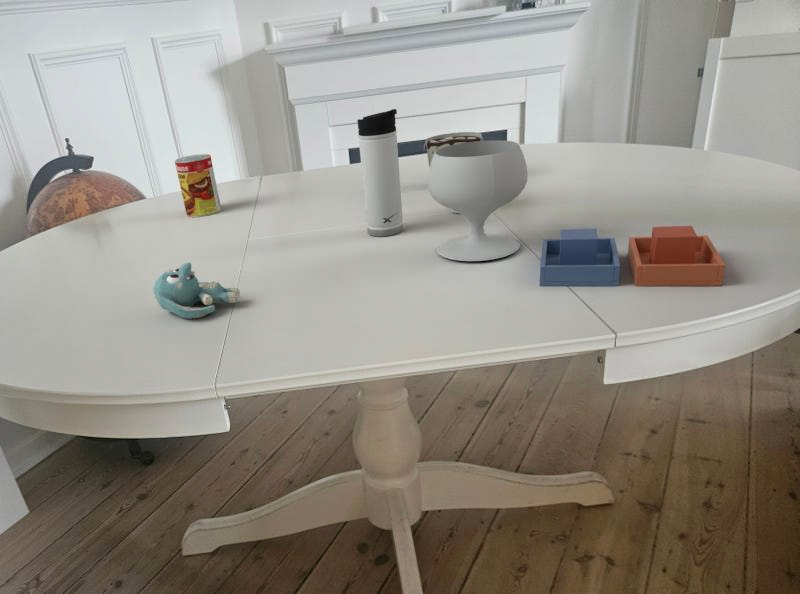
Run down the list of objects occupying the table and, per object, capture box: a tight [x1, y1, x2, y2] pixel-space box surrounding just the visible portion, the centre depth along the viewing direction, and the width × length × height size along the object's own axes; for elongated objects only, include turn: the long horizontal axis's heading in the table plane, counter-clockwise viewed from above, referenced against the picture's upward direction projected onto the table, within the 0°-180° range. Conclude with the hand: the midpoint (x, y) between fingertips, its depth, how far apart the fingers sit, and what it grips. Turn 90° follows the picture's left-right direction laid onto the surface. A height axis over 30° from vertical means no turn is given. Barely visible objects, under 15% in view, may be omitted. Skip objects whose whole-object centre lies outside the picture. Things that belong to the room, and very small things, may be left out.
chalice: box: [427, 139, 528, 262], centre depth 93 cm, size 14×14×15 cm
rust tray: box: [627, 234, 726, 287], centre depth 79 cm, size 9×11×3 cm
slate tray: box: [539, 237, 621, 287], centre depth 83 cm, size 9×11×3 cm
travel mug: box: [357, 108, 404, 238], centre depth 106 cm, size 6×7×20 cm
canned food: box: [174, 153, 222, 218], centre depth 140 cm, size 8×8×12 cm
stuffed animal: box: [153, 261, 241, 320], centre depth 88 cm, size 11×7×12 cm
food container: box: [423, 131, 485, 169], centre depth 134 cm, size 12×6×10 cm, turn 80°
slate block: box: [559, 228, 599, 265], centre depth 82 cm, size 4×4×4 cm
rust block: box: [649, 225, 699, 264], centre depth 79 cm, size 4×4×4 cm
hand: (735, 2), depth 75 cm, fingers open, 8 cm apart
